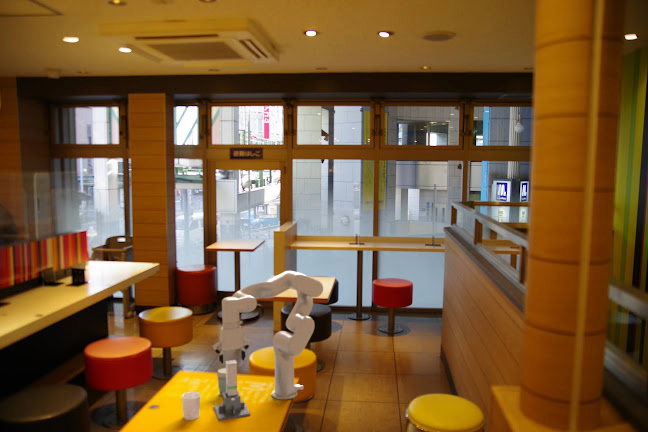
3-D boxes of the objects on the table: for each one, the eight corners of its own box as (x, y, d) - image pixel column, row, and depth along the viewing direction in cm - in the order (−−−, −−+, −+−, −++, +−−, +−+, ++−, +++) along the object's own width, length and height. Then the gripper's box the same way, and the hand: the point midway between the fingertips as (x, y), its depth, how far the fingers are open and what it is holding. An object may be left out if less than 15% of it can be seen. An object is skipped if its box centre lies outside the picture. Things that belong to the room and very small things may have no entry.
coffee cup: (230, 398, 251) (230, 374, 251) (214, 396, 253) (213, 372, 252) (237, 391, 260) (236, 367, 259) (221, 389, 262) (220, 366, 261)
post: (235, 393, 240) (235, 359, 239) (237, 397, 236) (237, 363, 234) (225, 395, 238) (225, 361, 237) (227, 399, 234) (227, 364, 233)
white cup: (193, 411, 238) (193, 390, 237) (204, 416, 233) (203, 394, 232) (178, 417, 232) (178, 395, 231) (189, 422, 227) (189, 400, 226)
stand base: (243, 402, 247) (243, 386, 246) (250, 415, 234) (250, 398, 233) (213, 407, 242) (213, 390, 241) (219, 420, 229) (218, 403, 228)
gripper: (248, 319, 241) (249, 355, 243) (210, 324, 235) (212, 361, 236) (251, 324, 234) (252, 360, 236) (213, 329, 228) (214, 366, 229)
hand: (232, 361), depth 236 cm, fingers open, 9 cm apart
